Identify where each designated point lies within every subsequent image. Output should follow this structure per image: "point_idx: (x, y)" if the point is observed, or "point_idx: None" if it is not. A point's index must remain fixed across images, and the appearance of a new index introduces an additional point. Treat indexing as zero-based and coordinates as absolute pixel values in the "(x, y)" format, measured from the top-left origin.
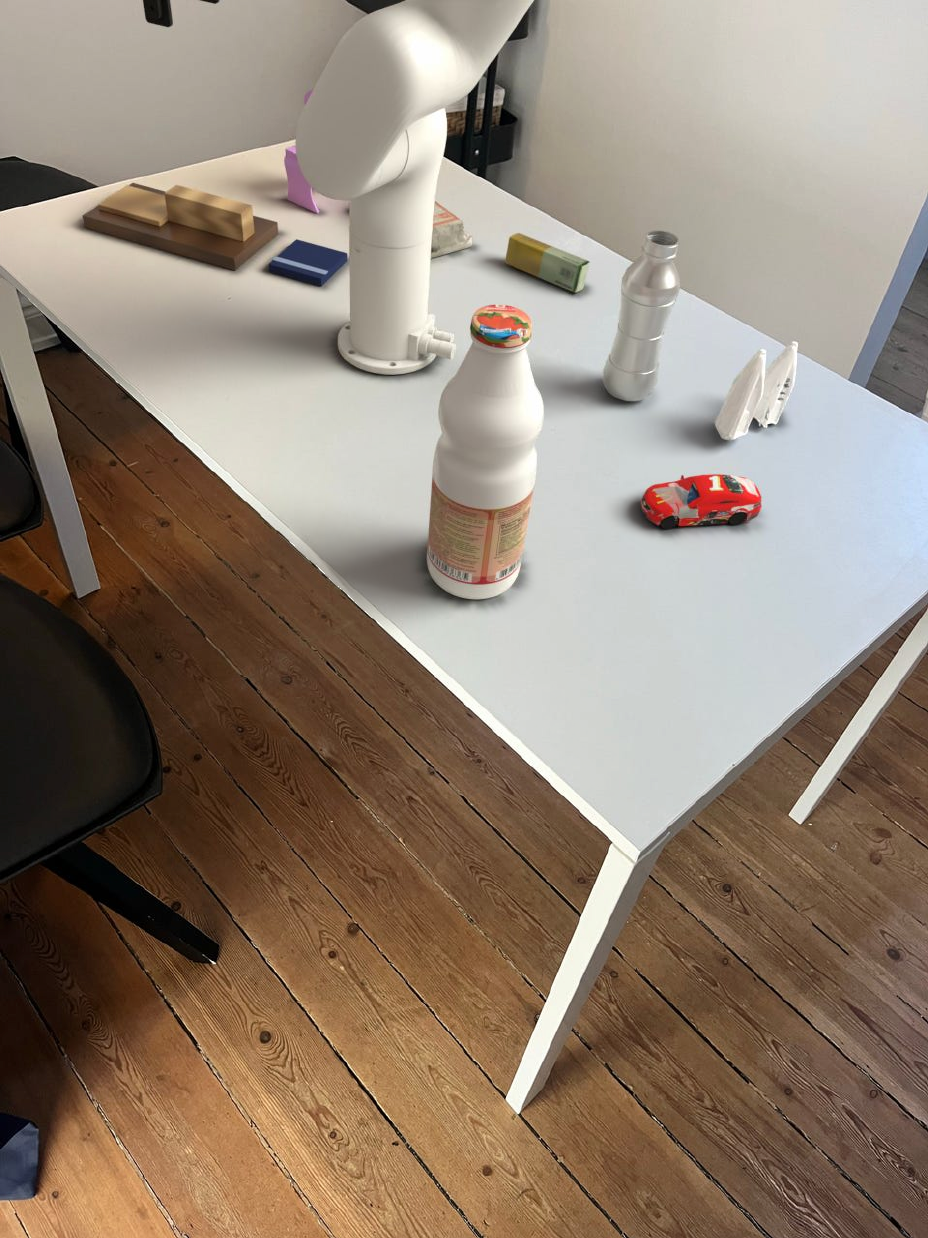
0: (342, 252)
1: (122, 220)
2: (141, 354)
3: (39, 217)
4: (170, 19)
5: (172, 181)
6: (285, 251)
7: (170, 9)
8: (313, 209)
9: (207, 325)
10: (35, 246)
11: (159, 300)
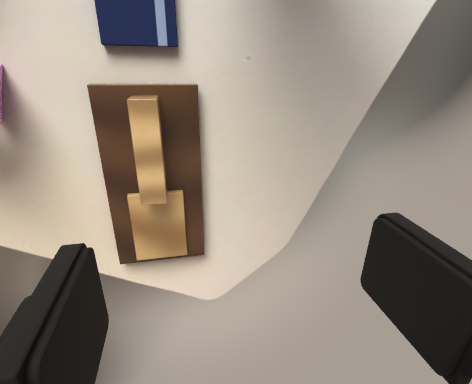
0: None
1: (192, 223)
2: (361, 80)
3: (208, 283)
4: (404, 220)
5: None
6: (139, 41)
7: (423, 235)
8: (1, 72)
9: (301, 51)
10: (249, 255)
11: (280, 119)
